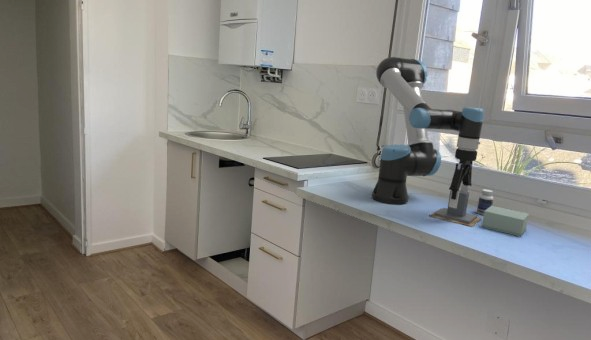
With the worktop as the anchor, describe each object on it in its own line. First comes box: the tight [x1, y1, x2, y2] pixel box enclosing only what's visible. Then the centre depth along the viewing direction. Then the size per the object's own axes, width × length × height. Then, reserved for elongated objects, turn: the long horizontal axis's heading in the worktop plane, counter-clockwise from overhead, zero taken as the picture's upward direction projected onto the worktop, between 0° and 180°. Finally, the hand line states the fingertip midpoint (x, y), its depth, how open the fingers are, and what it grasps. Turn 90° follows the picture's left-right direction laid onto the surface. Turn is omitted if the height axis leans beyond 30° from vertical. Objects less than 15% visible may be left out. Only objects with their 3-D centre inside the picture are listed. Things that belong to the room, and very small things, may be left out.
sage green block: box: [480, 205, 529, 237], centre depth 160 cm, size 13×11×6 cm
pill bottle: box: [476, 188, 494, 216], centre depth 177 cm, size 5×5×10 cm
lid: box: [434, 189, 478, 224], centre depth 167 cm, size 13×11×10 cm
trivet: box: [429, 208, 483, 228], centre depth 168 cm, size 16×14×1 cm
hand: (457, 204), depth 167 cm, fingers open, 12 cm apart
